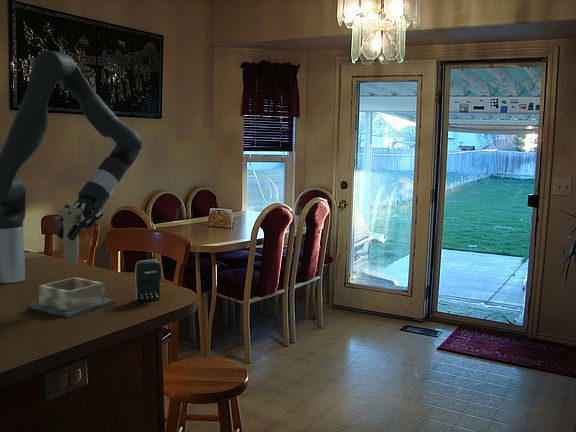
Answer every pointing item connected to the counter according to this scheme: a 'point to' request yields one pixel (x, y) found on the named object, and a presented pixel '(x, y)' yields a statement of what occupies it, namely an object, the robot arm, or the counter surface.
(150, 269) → the battery charger
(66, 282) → the cream grey square tray
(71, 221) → the handle
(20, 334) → the counter surface
